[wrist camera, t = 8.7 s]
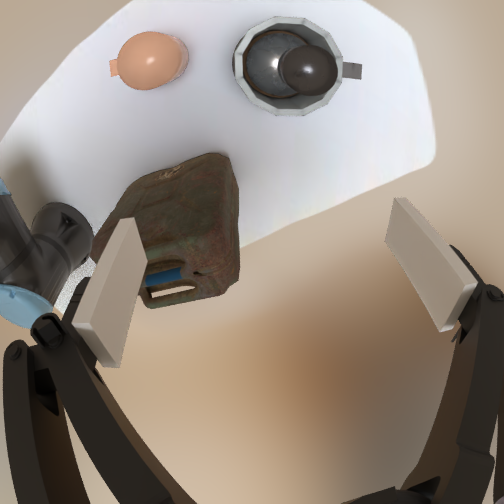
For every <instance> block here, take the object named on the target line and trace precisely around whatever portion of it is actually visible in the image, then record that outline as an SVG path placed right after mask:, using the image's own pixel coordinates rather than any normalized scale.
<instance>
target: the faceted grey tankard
mask: <svg viewBox="0 0 504 504" xmlns="http://www.w3.org/2000/svg"><path fill="white" fill-rule="evenodd" d="M275 33H285V34H290V35H293V36H295V37H297V38H299V39H301V40H302V41H303V42H304V43H306V45H315V46H319V47H321V48H323V49H325V50H327V51H328V52H329V53H330V54H331V55H332V56H333V58H334V59H335V61H336V63H337V67H338V77H337V80H336V82H335V84H334V86H333V87H332V88H331V89H330V90H329V91H328V92H326V93H324V94H322V95H318V96H306V95H303V94H300V93H298V92H297V93H295V94H291V95H287V96H277V95H272V94H268V93H266V92H264V91H262V90H261V89H259V88H258V87H257V86H256V85H255V84H254V83H253V82H252V80H251V79H250V77H249V75H248V72H247V67H246V60H247V55H248V52H249V50H250V49H251V47H252V46H253V45H254V44H255V43H256V42H257V41H258V40H259V39H261V38H262V37H264V36H267V35H270V34H275ZM232 66H233V72H234V75H235V78H236V79H235V80H236V81H237V83H238V84H239V86H240V87H241V88H242V90H243V91H244V93H245V94H246V96H247V97H248V99H249V100H250V102H251V103H253V104H255V105H257V106H258V107H260V108H262V109H264V110H266V111H268V112H270V113H272V114H274V115H275V116H305V115H307V114H309V113H311V112H313V111H315V110H317V109H319V108H321V107H323V106H325V105H327V104H328V103H329V101H330V100H331V98H332V97H333V95H334V94H335V92H336V91H337V89H338V88H339V86H340V85H341V83H342V77H344V78H353V79H360V80H361V73H362V64H356V63H349V62H343V56H342V55H341V53H340V51H339V49H338V47H337V45H336V44H335V42H334V40H333V38H332V37H331V35H330V33H328V32H327V31H325V30H324V29H322V28H320V27H319V26H317V25H316V24H314V23H312V22H311V21H309V20H307V19H305V18H296V17H273V18H271V19H269V20H267V21H265V22H263V23H261V24H259V25H257V26H255V27H253V28H251V29H249V30H248V32H247V33H246V35H245V36H244V37H243V38H242V39H241V40H240V41H239V43H238V44H237V46H236V48H235V51H234V54H233V61H232Z"/></svg>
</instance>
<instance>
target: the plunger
mask: <svg viewBox="0 0 504 504" xmlns="http://www.w3.org/2000/svg"><path fill="white" fill-rule="evenodd" d="M246 67H247V72H248V75H249V77H250V79H251V80H252V82H253V83H254V84H255V85H256V86H257V87H258V88H259V89H261V90H262V91H264V92H266V93H268V94H272V95H277V96H287V95H291V94H295V93H297V92H298V93H300V94H303V95H306V96H318V95H322V94H324V93H326V92H328V91H329V90H330V89H331V88H332V87H333V86H334V84H335V82H336V80H337V77H338V67H337V63H336V61H335V59H334V58H333V56H332V55H331V54H330V53H329V52H328V51H327V50H325V49H323V48H321V47H319V46H315V45H306V43H304V42H303V41H302V40H301V39H299V38H297V37H295V36H293V35H290V34H285V33H275V34H270V35H267V36H264V37H262V38H261V39H259V40H258V41H257V42H256V43H255V44H254V45H253V46H252V47H251V49H250V50H249V52H248V55H247V60H246Z"/></svg>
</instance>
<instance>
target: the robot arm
mask: <svg viewBox="0 0 504 504" xmlns="http://www.w3.org/2000/svg"><path fill="white" fill-rule="evenodd" d="M93 239H94V236H93V232H92V229H91V227H90V225H89V223H88V222H87V220H86V219H85V218H84V217H83V215H82V214H81V213H79V212H78V211H77V210H76V209H74V208H73V207H71V206H69V205H66V204H63V203H50V204H47V205H45V206H44V207H43V208H42V209H41V210H40V211H39V212H38V213H37V215H36V216H35V218H34V220H33V223H32V227H31V230H30V231H29V229H28V227H27V226H26V224H25V222H24V220H23V218H22V217H21V215H20V213H19V211H18V209H17V207H16V205H15V204H14V202H13V200H12V198H11V193H10V192H9V191H8V190H7V188H6V186H5V184H4V182H3V180H2V179H1V178H0V315H1V316H2V317H4V318H5V319H7V320H8V321H10V322H11V323H13V324H16V325H18V326H20V327H24V328H28V329H29V328H30V329H31V330H30V331H31V336H32V337H33V339H34V340H35V341H36V343H37V345H34V346H30V347H29V346H28V345H27V344H26V343H25V342H24V341H23V340H15V341H14V342H12V343H11V344H10V345H9V346H8V347H7V348H6V351H5V353H4V360H3V406H4V422H5V433H6V443H7V450H8V458H9V464H10V469H11V475H12V480H13V484H14V489H15V493H16V497H17V501H18V504H90V501H89V498H88V496H87V493H86V490H85V487H84V484H83V481H82V478H81V475H80V472H79V469H78V465H77V462H76V458H75V455H74V451H73V447H72V443H71V439H70V435H69V431H68V426H67V422H66V417H65V412H64V408H65V409H66V412H67V414H68V416H69V418H70V421H71V423H72V425H73V427H74V429H75V431H76V433H77V435H78V437H79V438H80V440H81V442H82V444H83V446H84V448H85V450H86V451H87V453H88V455H89V457H90V458H91V460H92V462H93V463H94V465H95V467H96V469H97V470H98V472H99V473H100V475H101V477H102V478H103V480H104V481H105V483H106V484H107V486H108V487H109V489H110V490H111V492H112V493H113V495H114V496H115V498H116V499H117V500H118V502H119V503H120V504H197V503H196V502H195V501H194V500H193V499H192V498H191V497H190V496H189V495H188V494H187V493H186V492H185V491H184V490H183V489H182V487H181V486H180V485H179V484H178V483H177V482H176V481H175V480H174V478H173V477H172V476H171V475H170V474H169V473H168V471H167V470H166V469H165V468H164V467H163V466H162V464H161V463H160V462H159V460H158V459H157V458H156V457H155V456H154V454H153V453H152V452H151V450H150V449H149V448H148V446H147V445H146V444H145V442H144V441H143V440H142V439H141V437H140V436H139V434H138V433H137V432H136V430H135V429H134V427H133V426H132V425H131V423H130V422H129V420H128V419H127V417H126V416H125V414H124V413H123V411H122V410H121V408H120V407H119V405H118V403H117V402H116V400H115V399H114V397H113V395H112V394H111V392H110V391H109V389H108V387H107V386H106V384H105V382H104V381H103V379H102V377H101V375H100V374H99V372H98V370H97V369H96V368H95V365H96V361H97V360H98V361H99V362H100V363H101V365H102V366H103V367H111V368H119V367H120V364H121V359H122V354H123V350H124V346H125V342H126V337H127V333H128V330H129V326H130V322H131V317H132V314H133V310H134V306H135V303H136V299H137V296H138V292H139V289H140V285H141V282H142V278H143V275H144V272H145V268H146V265H147V262H148V261H147V258H146V255H145V252H144V248H143V245H142V242H141V239H140V236H139V232H138V229H137V226H136V222H135V219H134V217H133V218H125V219H120V221H119V222H118V224H117V226H116V228H115V230H114V232H113V234H112V236H111V238H110V239H109V241H108V243H107V245H106V247H105V249H104V251H103V253H102V255H101V257H100V259H99V261H98V264H97V266H96V268H95V270H94V272H93V274H92V276H91V277H84V278H83V279H82V280H81V282H80V283H79V284H78V285H77V287H76V289H75V291H74V293H73V296H72V297H71V300H70V303H69V304H68V306H67V309H66V311H65V313H64V315H63V318H62V320H61V321H60V319H59V317H58V316H57V315H56V314H54V313H52V310H53V307H54V304H55V302H56V300H57V298H58V296H59V294H60V292H61V290H62V288H63V287H64V285H65V283H66V281H67V279H68V277H69V275H70V274H71V273H72V272H73V271H75V270H76V269H77V268H78V267H80V266H81V265H82V264H84V263H85V262H86V261H87V259H88V258H89V254H90V252H91V248H92V240H93ZM385 242H386V244H387V245H388V246H389V248H390V250H391V251H392V252H393V254H394V256H395V257H396V259H397V261H398V262H399V263H400V265H401V267H402V268H403V270H404V272H405V273H406V275H407V276H408V278H409V280H410V281H411V283H412V285H413V286H414V288H415V290H416V291H417V293H418V295H419V296H420V298H421V300H422V301H423V303H424V305H425V306H426V308H427V310H428V312H429V314H430V316H431V317H432V319H433V321H434V323H435V325H436V326H437V328H438V330H439V332H443V331H446V330H450V329H453V327H454V325H455V324H456V322H457V320H459V322H460V324H461V326H460V328H459V329H458V331H457V333H456V334H455V336H454V337H453V339H452V342H454V340H455V339H456V338H457V340H456V345H455V350H454V354H453V359H452V363H451V367H450V371H449V375H448V379H447V383H446V387H445V390H444V393H443V397H442V400H441V403H440V406H439V409H438V412H437V416H436V418H435V421H434V424H433V427H432V430H431V432H430V435H429V438H428V440H427V443H426V445H425V448H424V450H423V453H422V455H421V457H420V460H419V462H418V464H417V465H416V467H415V468H414V470H413V471H412V472H411V473H410V474H409V476H408V477H407V478H406V480H405V482H404V484H403V485H402V487H401V489H400V490H395V486H394V487H391V488H388V489H385V490H382V491H378V492H375V493H372V494H368V495H365V496H362V497H359V498H356V499H353V500H350V501H347V502H343V503H341V504H482V501H483V499H484V496H485V493H486V490H487V488H488V485H489V482H490V479H491V476H492V472H493V469H494V464H495V460H494V457H493V456H492V455H490V452H489V451H490V445H491V442H492V438H493V433H494V429H495V424H496V419H497V414H498V437H497V455H496V466H495V476H494V489H493V493H494V494H493V501H494V504H504V294H503V292H502V291H501V290H500V289H499V288H497V287H495V286H494V285H490V284H489V285H486V284H485V283H484V282H483V280H482V279H481V278H480V276H479V275H478V274H477V272H476V271H475V270H474V268H473V267H472V266H471V265H470V263H469V262H468V261H467V260H466V259H465V257H464V256H463V255H462V253H461V252H460V251H459V250H457V249H456V248H455V247H454V246H452V245H448V244H447V242H446V241H445V240H444V239H443V238H442V236H441V235H440V234H439V233H438V232H437V231H436V230H435V228H434V227H433V226H432V225H431V224H430V223H429V222H428V221H427V219H426V218H425V217H424V216H423V215H422V214H421V213H420V212H419V211H418V210H417V209H416V208H415V207H414V206H413V204H412V203H411V202H409V200H408V199H407V198H394V201H393V206H392V211H391V216H390V221H389V225H388V230H387V234H386V238H385ZM63 405H64V406H63Z"/></svg>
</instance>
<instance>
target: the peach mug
mask: <svg viewBox="0 0 504 504" xmlns="http://www.w3.org/2000/svg"><path fill="white" fill-rule="evenodd" d="M188 57H189V56H188V50H187V48H186V46H185V44H184V43H183V42H182V41H181V40H179V39H178V38H176V37H173V36H169V35H165V34H161V33H157V32H143V33H140V34H137V35H135V36H133V37H132V38H130V39H129V40H128V41H127V42H126V43H125V44H124V45H123V46H122V48H121V50H120V52H119V54H118V58H117V59H114V60H110V71H111V77H112V76H117V75H119V76H120V78H121V79H122V81H123V82H124V83H125V84H127V85H128V86H130V87H131V88H134V89H137V90H150V89H153V88H156V87H159V86H161V85H163V84H166V83H168V82H170V81H173V80H175V79H176V78H178V77H179V76H180V75H181V74H182V73H183V72H184V70H185V69H186V66H187V64H188Z"/></svg>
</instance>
